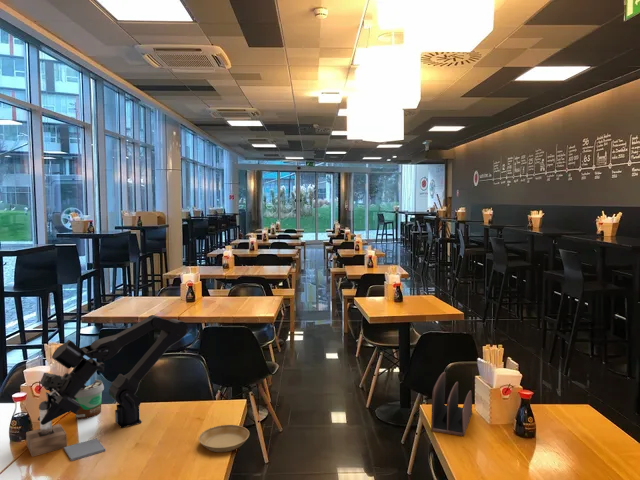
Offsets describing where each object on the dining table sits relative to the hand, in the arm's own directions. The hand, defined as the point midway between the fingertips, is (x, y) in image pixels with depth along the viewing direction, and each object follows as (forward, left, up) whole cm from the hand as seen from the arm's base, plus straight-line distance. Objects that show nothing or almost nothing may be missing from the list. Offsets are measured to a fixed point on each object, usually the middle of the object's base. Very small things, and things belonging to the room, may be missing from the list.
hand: (40, 422), depth 145 cm
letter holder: (-107, +67, -8) cm, 126 cm away
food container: (-18, -16, -8) cm, 26 cm away
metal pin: (-1, 0, -7) cm, 7 cm away
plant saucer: (-43, +32, -8) cm, 54 cm away
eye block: (-1, 0, -8) cm, 8 cm away
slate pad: (-9, +10, -8) cm, 16 cm away
